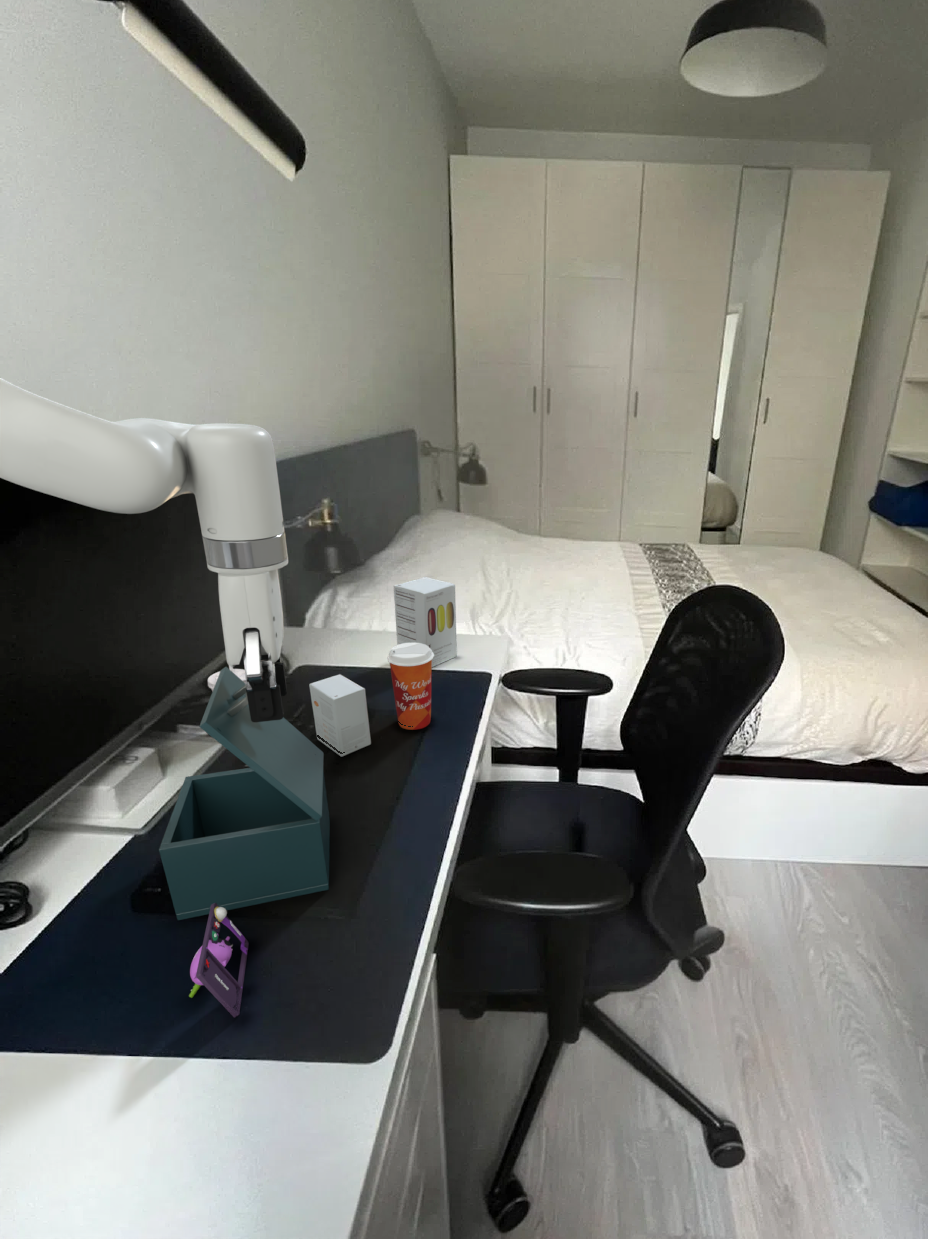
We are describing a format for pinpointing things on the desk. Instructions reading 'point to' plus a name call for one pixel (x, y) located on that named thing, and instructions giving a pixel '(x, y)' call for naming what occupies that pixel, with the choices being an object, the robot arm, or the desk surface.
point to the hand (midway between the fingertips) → (270, 706)
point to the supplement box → (427, 616)
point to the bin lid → (265, 744)
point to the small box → (340, 714)
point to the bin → (241, 844)
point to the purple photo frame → (219, 962)
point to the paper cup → (412, 683)
